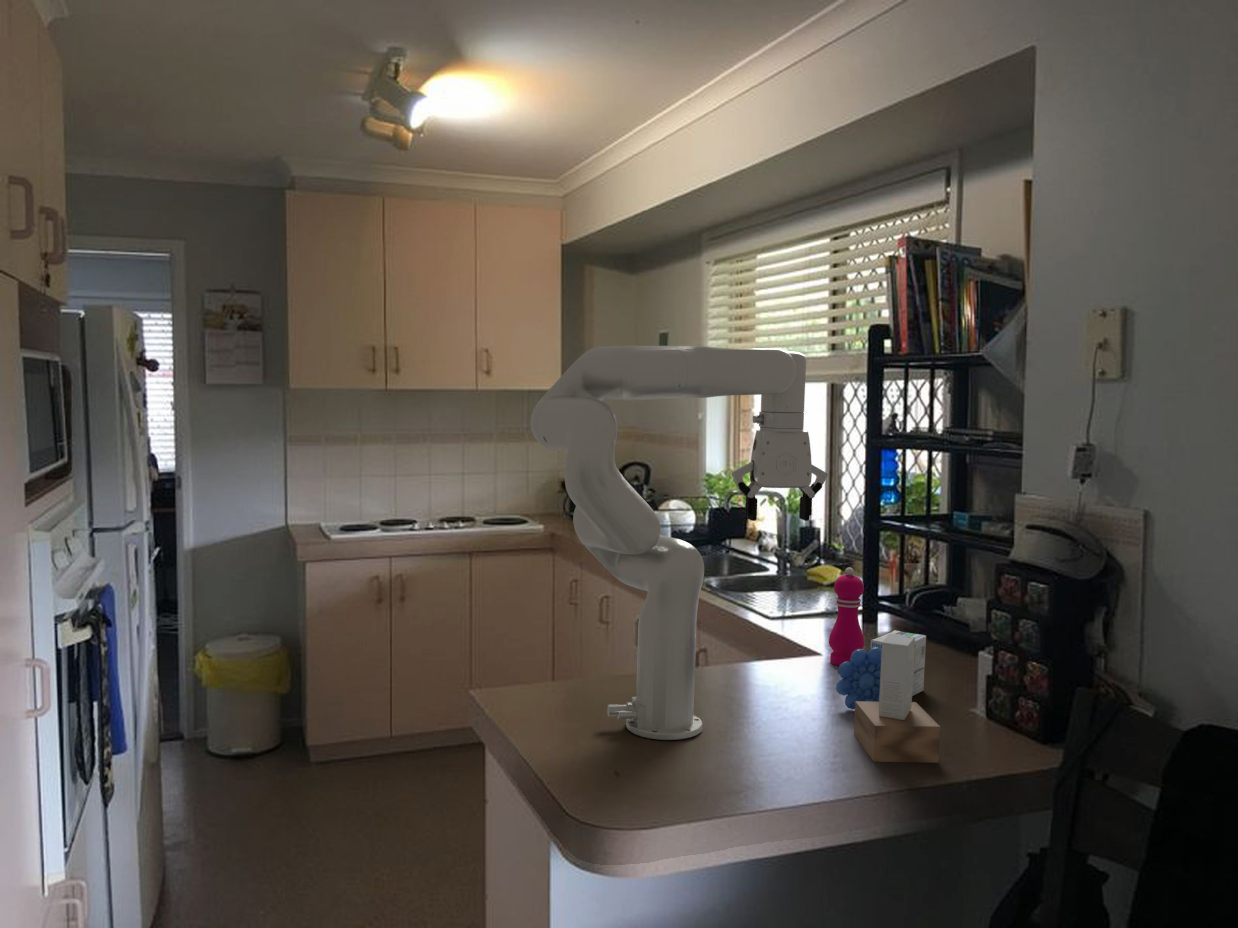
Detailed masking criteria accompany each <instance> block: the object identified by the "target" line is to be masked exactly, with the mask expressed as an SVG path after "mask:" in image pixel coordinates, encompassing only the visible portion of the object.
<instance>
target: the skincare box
mask: <svg viewBox="0 0 1238 928" xmlns="http://www.w3.org/2000/svg"><path fill="white" fill-rule="evenodd" d="M887 634H888V633H887ZM914 647H915V637H912V636H905V635H898V634H888V636H887V637H886V638H885V640H884V641H883V642H882V653H881V673H880V694H879V716H881V717H887V718H893V719H899V720H905V719H906V717H907V715H908V713H909V711H910V709H911V705H912V702H913V701H912V699H913V696H912V685H913V665H914Z"/></svg>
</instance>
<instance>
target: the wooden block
mask: <svg viewBox="0 0 1238 928" xmlns="http://www.w3.org/2000/svg"><path fill="white" fill-rule="evenodd" d="M853 728H854V729H853V736H854V737H855V738H856V739H857V741H858V742H859V744H860V745H861V746H862V747H863V750H865V752H866V753H867V754H868V756H869V757H870V759H871V760H872V762H881V763H888V762H889V763H933V764H934V763H936V764H937V763H939V758H940V757H939V755H940V740H941V739H940V736H941V726H940V724H939V723H937V722H936V721H935V720H934V719H933V718H932V717H931V716H930V714H929V713H927V712H926V711H925V709H923V707H921V706H920V704H918V703H917V702H916V701H912V705H911V709H910V711H909V713H908V715H907V717H906V719H905V720H899V719H893V718H887V717H881V716H879V702H868V701H855V709H854V727H853Z"/></svg>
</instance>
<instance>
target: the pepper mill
mask: <svg viewBox="0 0 1238 928" xmlns="http://www.w3.org/2000/svg"><path fill="white" fill-rule="evenodd" d="M854 573H855V570H854V568H853V567H847V568H845V573H844V574H843V575H840V576H838V577H837V578H836V580H834V584H833V590H834V593H835V594H836V596H837V597H836V598H835V600H836V602H835V605H836V606H837V613H836V614H837V616H836V620H835V623H834V624H833V627H832V628H831V631H830V633H829V636H828V646H829V647H830V648H831V650H832V652H831V653H830V657H829V659H830V660H829V661H830V663H831V664H833V665H835V666H837V667H839V666H840V665H841V664H842V663H843V662H846V661H848V662H851V654H852V653H853V652H854V651H855V650H858V649H861V650H864V648H865V637H864V633H863V630H862V628H861V625H860V623H859V607H861V601H862V599H860V597H861V596H862V595H864V591H865V585H864V582H863V580H862V579H861V578H860V577H859V576H856V575H854Z"/></svg>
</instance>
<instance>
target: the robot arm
mask: <svg viewBox="0 0 1238 928" xmlns="http://www.w3.org/2000/svg"><path fill="white" fill-rule="evenodd" d="M806 373H807V361H806V356H805V355H804V354H803V353H801V352H798V351H786V350H784V349H782V348H776V347H775V348H773V347H770V348H768V347H765V348H731V347H728V348H727V347H715V346H714V347H713V346H703V345H701V346H700V345H610V346H608V345H607V346H606V345H605V346H603V345H602V346H595V347H592V348H590V349H588V350H587V351H585V352H584V353H583V354H581V355H580V356H579V357H577V358H576V360H575V361H574V362H573V363H572V364H571V365H570V366H569V368H567V369H566V370H565V372H564V373H563V374H561V376H560V377H559V378H558V379H557V381H556V382H555V383H554V384H553V385H552V386H551V387H550V388H549V389H548V391H546V393H545V394H544V395H543V396H542V397H541V398H540V400H538V402H537V404H536V405H535V407H533V411H532V414H531V416H530V417H531V418H530V428H531V429H530V430H531V433H532V435H533V437H534V438H535V440H536V441H537V443H539V444H540V445H541V446H543V447H545V448H547V449H550V450H553V451H554V450H555V451H559V452H560V451H561V452H566V456H565V463H564V465H565V466H564V484H565V490H566V492H567V495H568V497H569V498H570V500H571V501H572V502H573V504H574V505H575V508H574V511H573V515H572V516H573V517H572V518H573V521H572V522H573V528H574V531H575V534H576V536H577V538H578V539H579V541H580V543H581V544H582V545H583V546H584V547H585V548H586V549H587V550H588V551H589V552H590V553H591V554H592V555H593V556H594V557H595V559H597V561H598V562H599V563H600V564H602V566H603V567H604V568H605V569H606V570H608V571H609V573H611V575H613V576H614V578H615V579H617V580H619V582H621V583H623V584H624V585H627V586H630V587H632V588H635V589H638V590H641V591H645V592H647V594H646V597H645V600H644V602H643V605H642V606H641V609H640V613H639V614H638V615H639V617H638V623H637V656H636V657H637V658H636V661H637V662H636V688H635V689H636V693H635V694H636V696H632V697H631V701H627V702H626V703H625V704H619V703H616V704H614V703H611V704H607V708H606V712H607V717H617V720H626V722H625V725H626V726H625V727H626V729H627V730H628V731H630V733H633V734H635V735H636V736H639V737H643V738H645V739H646V738H647V739H653V740H660V741H673V740H674V741H676V740H684V739H690V738H693V737H696V736H698V735H699V734H700V733H702V731H703V726H704V724H703V721H702V720H701V718H700V717H698V716H696V715H695V714H694V710H695V709H694V708H695V678H696V677H695V675H696V649H697V648H696V647H697V646H696V644H697V643H696V642H697V619H698V618H697V617H698V606H699V601H700V600H699V598H700V595H701V590H702V587H703V586H702V585H703V582H704V576H705V563H704V559H703V557H702V554H701V553H700V551H698V549H697V548H696V547H695V546H694V545H692V544H691V543H689V542H687V541H685V540H682V539H679V538H675V537H670V536H667V535H662V534H661V531H662V530H661V529H662V528H661V523H660V520H659V517H658V515H657V513H656V512H655V510H654V509H653V508H652V507H651V506H650V504H648V503H647V501H646V500H645V499H644V498H643V497H642V496H641V495H640V494H639V493H638V492H637V490H636V489H635V488H634V487H633V486H632V485H631V484H630V483H629V482H628V481H627V480H626V478H625V477H624V476H623V474H622V473H621V472H620V471H619V469H618V467H617V465H616V461H615V460H616V456H615V453H616V452H615V451H616V445H617V438H618V433H619V432H618V431H619V430H618V429H619V428H618V419H617V416H616V415H615V412H614V411H613V409H612V408H611V406H610V405H608V404H607V403H606V402H604V400H615V401H616V400H617V401H618V400H619V401H620V400H621V401H645V400H646V401H647V400H650V401H652V400H668V399H669V400H670V399H671V400H672V399H676V400H677V399H705V398H715V397H727V396H755V395H756V396H757V395H760V411H759V413H758V414H756V415H753V416H752V423H753V424H757V425H758V427H760V428H759V429H756V430H755V431H756V432H755V434H754V438H753V443H752V448H751V455H750V462H748V463H746V464H745V465H743V466H741V467H738V468H736V469H734V470H733V471H732V472H731V477H732V479H733V480H734V483H735V485H736V488H738V490H739V491H740V492H741V494H743V496H744V497H745V503H744V504H745V509H744V512H745V516H747V520H750V521H752V522H755V521H757V518H758V517H757V516H758V498H756V495H757V494H758V493H759V491H760V490H761V489H763V488H768V489H799V491H800V493H801V494H802V495H801V496H800V497H799V510H798V511H799V515H798V516H799V517H798V518H799V519H801V520H803V521H805V522H808V521H810V516H812V512H813V499H814V498H815V496H816V494H818V492H820V491H821V489H822V488H823V484H825V482H826V480H827V478H828V473H827V472H825V471H824V470H822V469H821V468H819V467H817V466H816V465H814V464H812V452H811V442H810V441H811V440H810V435H809V431H807V430H804V424H805V423H804V422H805V420H804V419H805V398H806V397H805V395H806V394H805V393H806ZM748 473H749V480H750V483H749V485H747V484H746V483H745V481H744V478H743V477H744V476H745V475H747V474H748ZM812 474H813V475H814V476H815V481H814V482H813V483H812V478H813V477H812Z"/></svg>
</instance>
